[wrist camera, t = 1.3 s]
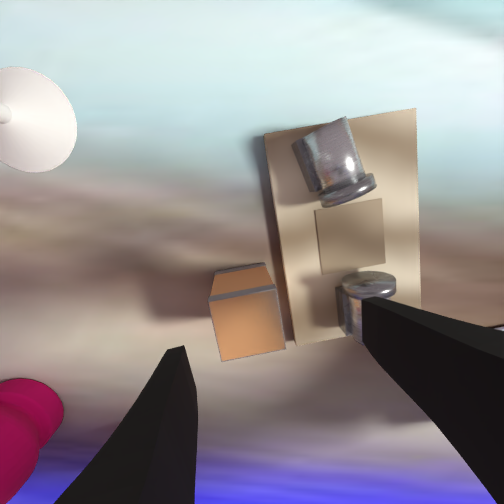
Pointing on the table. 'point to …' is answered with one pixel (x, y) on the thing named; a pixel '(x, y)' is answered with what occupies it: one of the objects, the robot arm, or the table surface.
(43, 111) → the champagne flute
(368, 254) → the plate
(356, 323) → the shaft
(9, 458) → the pepper mill
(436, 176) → the table surface
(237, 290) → the orange rectangular block
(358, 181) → the shaft
